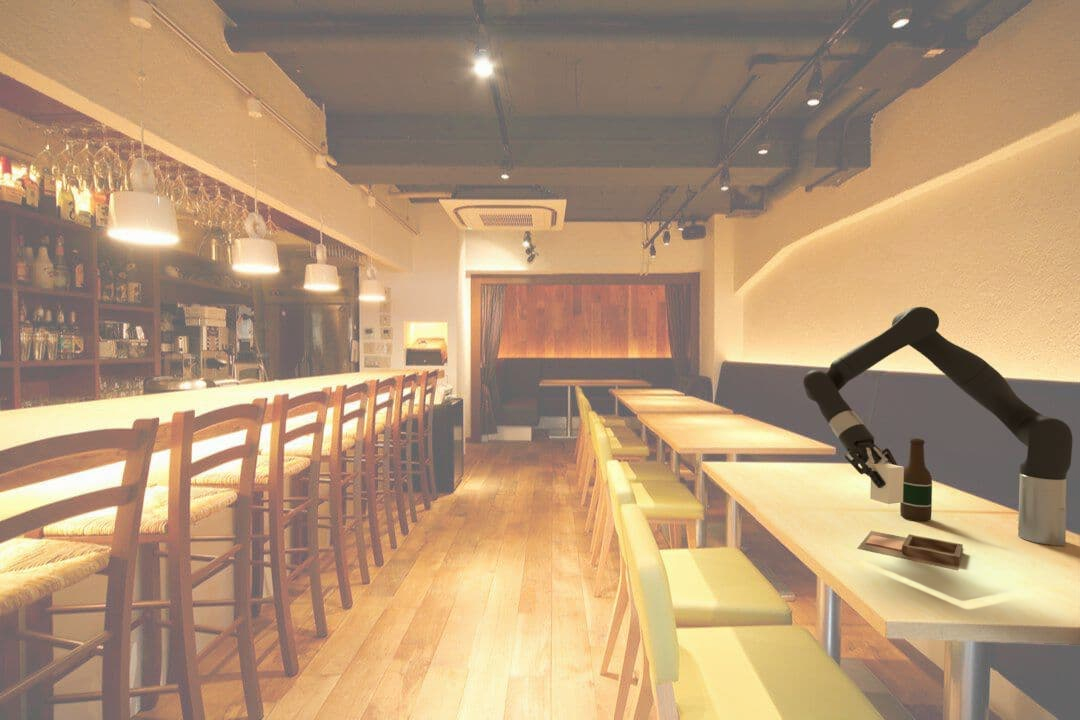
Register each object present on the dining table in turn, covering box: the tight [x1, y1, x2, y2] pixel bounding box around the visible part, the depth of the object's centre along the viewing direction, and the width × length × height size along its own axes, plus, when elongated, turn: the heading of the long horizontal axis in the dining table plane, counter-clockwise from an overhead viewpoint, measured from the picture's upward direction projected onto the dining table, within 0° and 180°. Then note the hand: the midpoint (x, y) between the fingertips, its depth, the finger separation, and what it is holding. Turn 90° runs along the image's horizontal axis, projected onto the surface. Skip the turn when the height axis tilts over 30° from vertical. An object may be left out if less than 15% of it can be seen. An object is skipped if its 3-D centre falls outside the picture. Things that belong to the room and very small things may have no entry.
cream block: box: [869, 462, 905, 505], centre depth 139 cm, size 5×5×9 cm
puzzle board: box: [856, 530, 964, 571], centre depth 136 cm, size 20×18×3 cm
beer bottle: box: [899, 438, 933, 523], centre depth 165 cm, size 8×8×24 cm
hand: (890, 485), depth 139 cm, fingers closed on cream block, 5 cm apart
